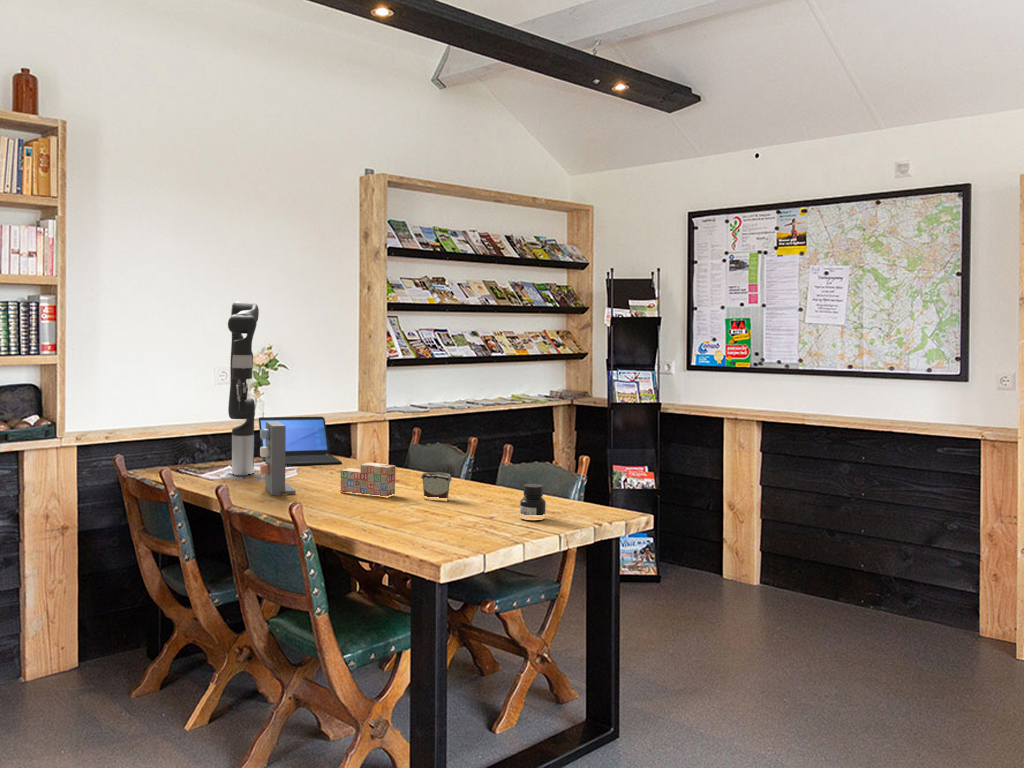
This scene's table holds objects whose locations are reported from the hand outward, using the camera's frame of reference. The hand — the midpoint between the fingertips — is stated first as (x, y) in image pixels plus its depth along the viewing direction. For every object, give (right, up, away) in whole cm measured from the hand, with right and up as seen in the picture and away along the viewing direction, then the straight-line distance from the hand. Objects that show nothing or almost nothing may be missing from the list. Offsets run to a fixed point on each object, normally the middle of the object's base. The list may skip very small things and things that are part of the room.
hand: (242, 410), depth 347 cm
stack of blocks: (+49, -33, +2) cm, 59 cm away
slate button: (+10, -11, -1) cm, 15 cm away
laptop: (+3, -27, +82) cm, 86 cm away
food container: (+77, -34, -4) cm, 85 cm away
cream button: (+9, -18, 0) cm, 20 cm away
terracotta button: (+9, -25, 0) cm, 27 cm away
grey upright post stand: (+14, -32, +3) cm, 35 cm away
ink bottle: (+113, -37, -35) cm, 124 cm away
